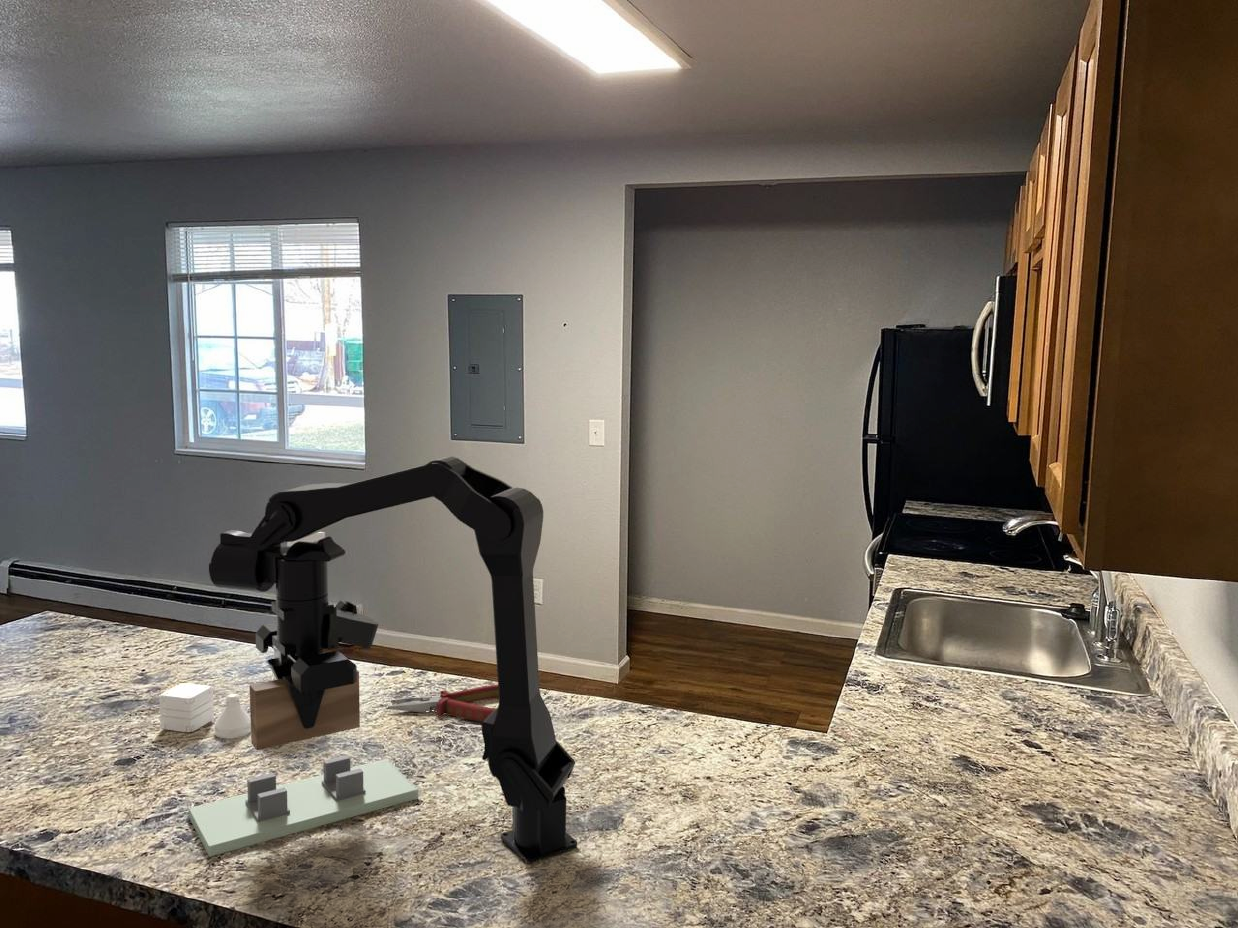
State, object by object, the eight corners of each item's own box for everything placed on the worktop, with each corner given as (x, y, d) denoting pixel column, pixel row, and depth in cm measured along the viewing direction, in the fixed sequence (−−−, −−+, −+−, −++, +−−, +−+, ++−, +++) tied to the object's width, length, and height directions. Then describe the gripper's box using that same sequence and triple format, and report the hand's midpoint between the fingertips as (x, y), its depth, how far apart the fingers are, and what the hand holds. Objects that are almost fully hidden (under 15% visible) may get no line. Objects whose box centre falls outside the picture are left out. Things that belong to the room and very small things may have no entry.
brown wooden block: (359, 727, 115) (359, 671, 114) (257, 750, 108) (255, 691, 107) (352, 720, 117) (351, 665, 116) (251, 742, 110) (249, 684, 109)
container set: (160, 731, 134) (158, 694, 133) (184, 717, 139) (183, 681, 138) (287, 748, 130) (286, 709, 129) (308, 733, 135) (307, 695, 134)
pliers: (395, 697, 149) (395, 681, 149) (524, 697, 151) (524, 682, 150) (382, 728, 138) (382, 710, 138) (521, 727, 139) (521, 710, 139)
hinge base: (418, 798, 116) (417, 766, 116) (209, 856, 102) (208, 820, 102) (386, 767, 124) (386, 737, 124) (189, 817, 110) (187, 784, 110)
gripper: (400, 603, 107) (401, 735, 109) (342, 569, 122) (344, 685, 124) (300, 619, 101) (304, 759, 103) (252, 580, 116) (256, 703, 118)
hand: (305, 723), depth 112 cm, fingers closed on brown wooden block, 2 cm apart
